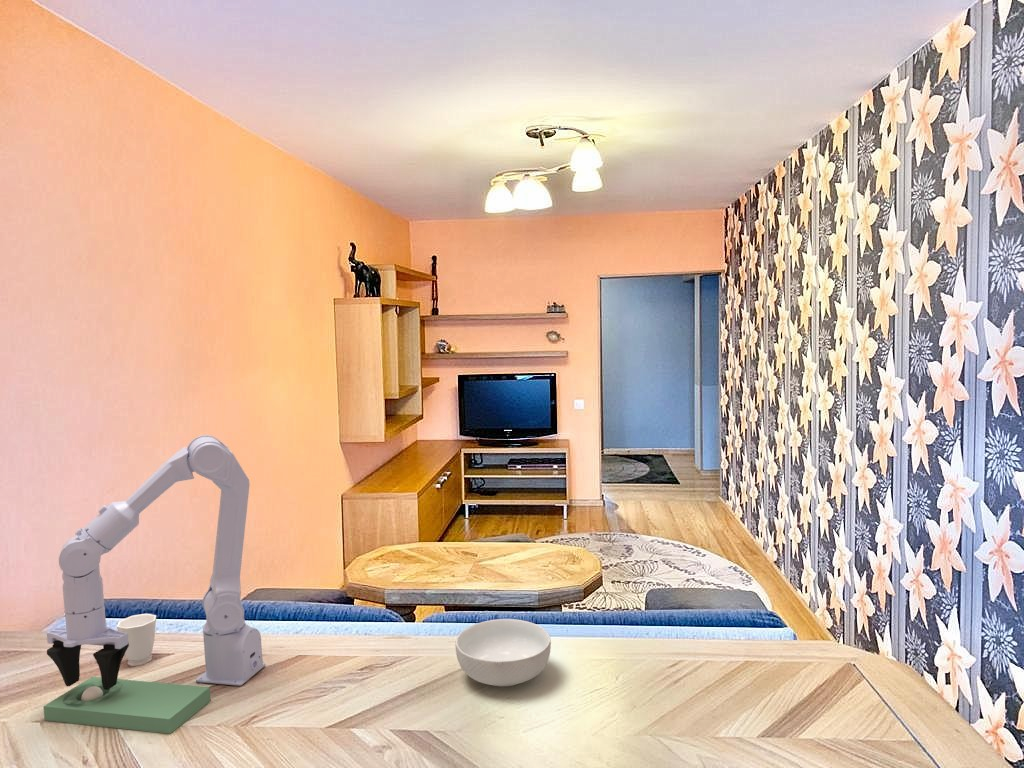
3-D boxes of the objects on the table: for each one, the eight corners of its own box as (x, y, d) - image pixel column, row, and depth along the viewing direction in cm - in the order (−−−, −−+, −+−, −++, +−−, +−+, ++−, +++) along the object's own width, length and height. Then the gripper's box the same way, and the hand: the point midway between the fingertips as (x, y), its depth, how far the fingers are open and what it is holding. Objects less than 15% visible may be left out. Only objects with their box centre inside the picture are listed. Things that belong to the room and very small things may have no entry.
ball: (100, 704, 121) (110, 692, 120) (85, 714, 118) (95, 702, 117) (88, 690, 121) (98, 679, 121) (73, 700, 118) (83, 688, 118)
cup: (125, 673, 131) (121, 631, 131) (110, 656, 138) (107, 616, 138) (165, 660, 136) (162, 619, 135) (149, 644, 143) (146, 606, 143)
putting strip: (210, 700, 120) (209, 687, 120) (170, 733, 110) (169, 719, 110) (93, 689, 125) (91, 676, 125) (44, 720, 116) (43, 706, 115)
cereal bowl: (440, 691, 120) (438, 651, 120) (480, 649, 136) (478, 614, 135) (532, 708, 114) (531, 666, 114) (563, 662, 129) (562, 625, 129)
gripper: (28, 614, 116) (35, 693, 117) (102, 619, 113) (109, 700, 114) (64, 598, 123) (70, 673, 124) (134, 602, 119) (141, 679, 120)
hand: (91, 685), depth 119 cm, fingers open, 7 cm apart
